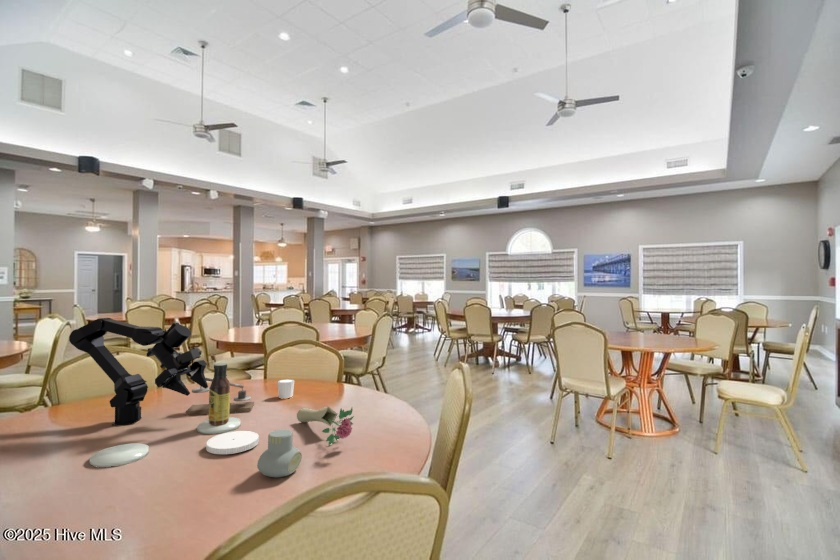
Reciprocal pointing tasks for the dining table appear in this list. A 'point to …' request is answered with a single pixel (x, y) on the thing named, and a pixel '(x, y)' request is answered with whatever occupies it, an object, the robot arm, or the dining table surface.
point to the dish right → (219, 426)
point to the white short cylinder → (285, 388)
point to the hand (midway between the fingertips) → (198, 391)
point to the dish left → (119, 455)
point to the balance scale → (233, 406)
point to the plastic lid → (232, 442)
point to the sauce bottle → (219, 396)
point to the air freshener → (279, 455)
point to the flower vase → (328, 420)
